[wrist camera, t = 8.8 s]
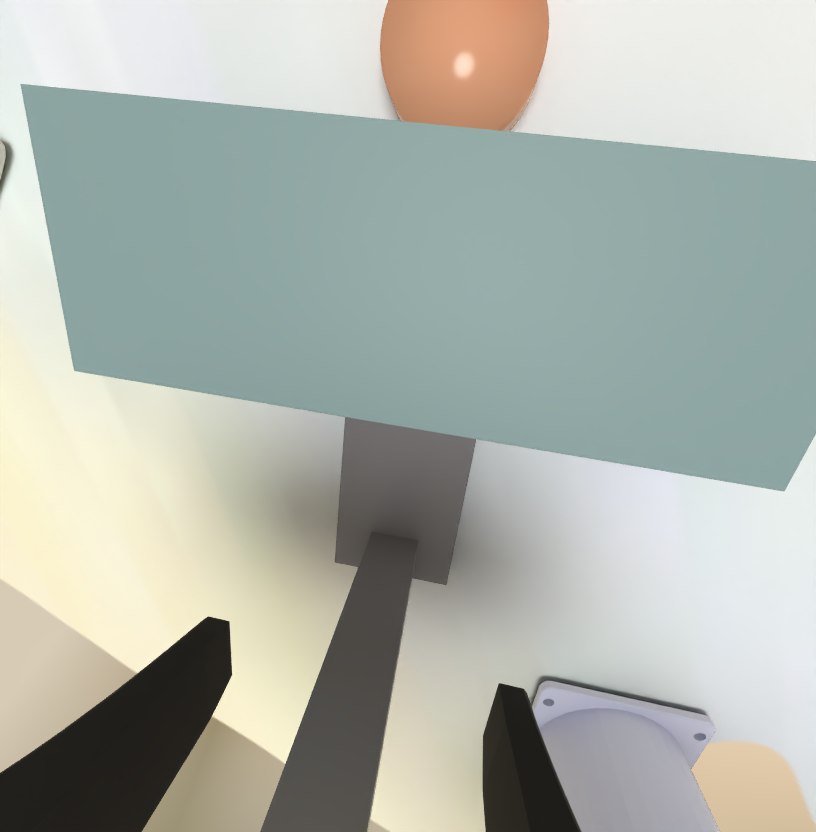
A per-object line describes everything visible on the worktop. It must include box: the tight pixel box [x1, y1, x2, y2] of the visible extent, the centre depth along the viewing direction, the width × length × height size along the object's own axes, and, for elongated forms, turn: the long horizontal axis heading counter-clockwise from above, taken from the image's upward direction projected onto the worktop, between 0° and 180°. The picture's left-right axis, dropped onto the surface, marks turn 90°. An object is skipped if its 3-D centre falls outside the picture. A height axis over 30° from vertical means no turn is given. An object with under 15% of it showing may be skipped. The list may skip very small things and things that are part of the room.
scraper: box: [261, 417, 476, 832], centre depth 10 cm, size 11×5×12 cm, turn 173°
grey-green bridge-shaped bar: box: [21, 84, 816, 491], centre depth 11 cm, size 7×20×4 cm, turn 83°
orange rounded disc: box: [380, 0, 549, 131], centre depth 11 cm, size 4×4×2 cm
